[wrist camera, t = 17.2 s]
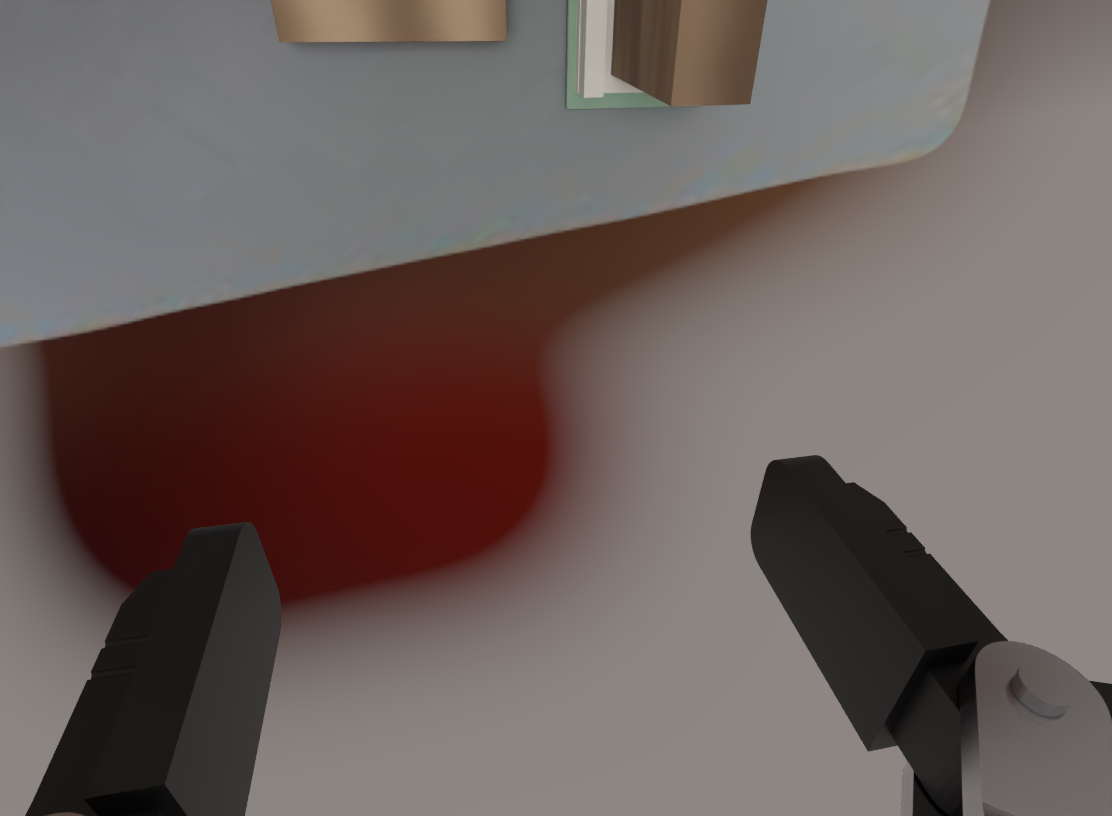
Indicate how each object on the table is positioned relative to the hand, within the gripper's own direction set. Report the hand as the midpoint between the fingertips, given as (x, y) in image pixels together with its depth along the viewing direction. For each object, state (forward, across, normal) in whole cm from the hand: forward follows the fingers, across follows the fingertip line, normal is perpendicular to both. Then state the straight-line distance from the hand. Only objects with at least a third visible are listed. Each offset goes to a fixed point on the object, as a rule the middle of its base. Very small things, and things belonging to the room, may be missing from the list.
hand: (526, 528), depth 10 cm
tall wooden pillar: (+35, -12, -5) cm, 37 cm away
